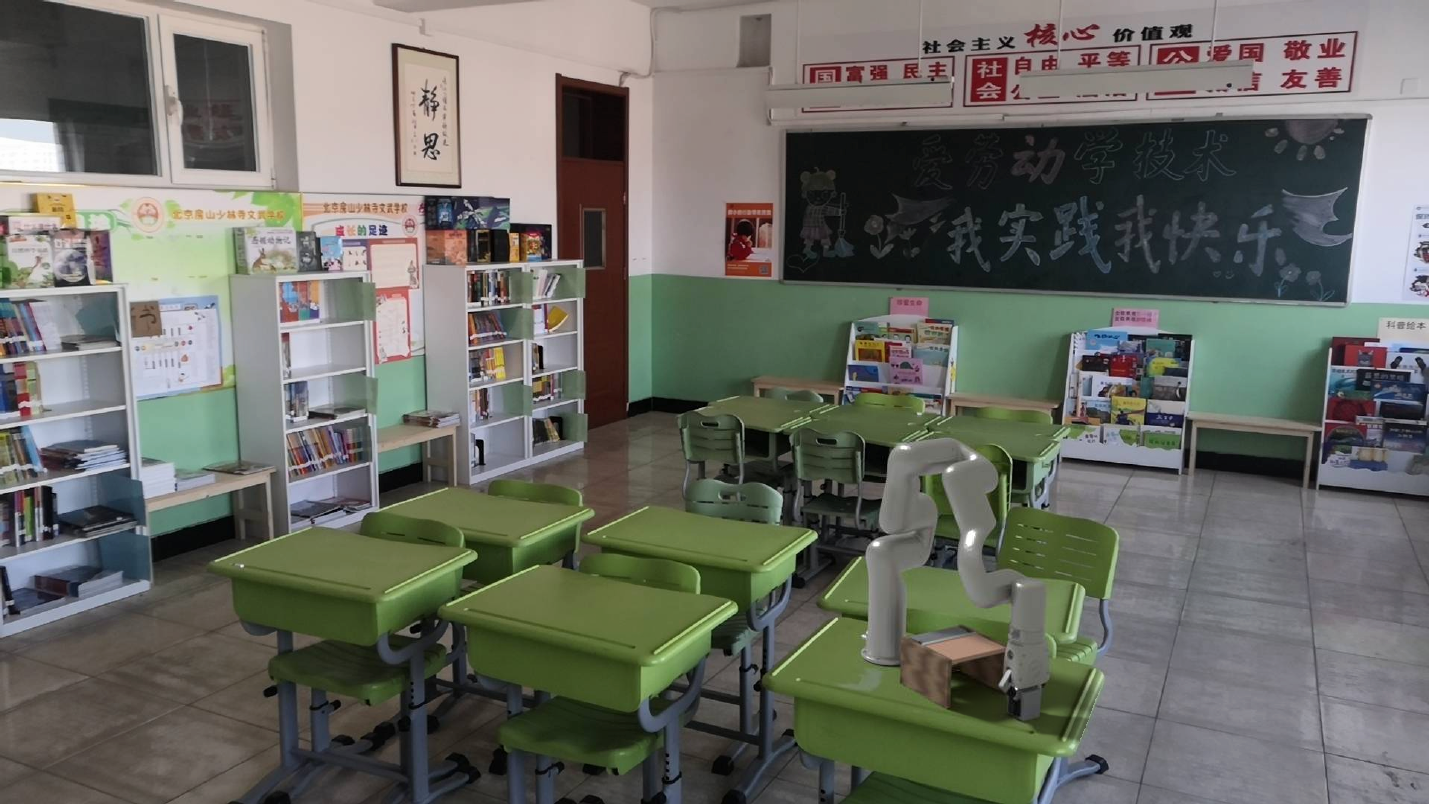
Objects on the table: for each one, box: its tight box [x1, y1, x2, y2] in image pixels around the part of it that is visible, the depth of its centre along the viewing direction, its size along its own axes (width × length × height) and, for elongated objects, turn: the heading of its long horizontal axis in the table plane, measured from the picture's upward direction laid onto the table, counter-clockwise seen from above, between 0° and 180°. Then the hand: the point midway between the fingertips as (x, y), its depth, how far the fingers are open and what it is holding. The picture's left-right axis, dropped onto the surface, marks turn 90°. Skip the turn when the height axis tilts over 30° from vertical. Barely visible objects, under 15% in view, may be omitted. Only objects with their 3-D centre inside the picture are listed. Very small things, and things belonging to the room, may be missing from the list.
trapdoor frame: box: [899, 624, 1009, 710], centre depth 250 cm, size 17×19×12 cm
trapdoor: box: [908, 625, 1006, 665], centre depth 249 cm, size 16×16×4 cm
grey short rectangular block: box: [1006, 686, 1042, 722], centre depth 236 cm, size 5×5×6 cm
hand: (1023, 711), depth 236 cm, fingers closed on grey short rectangular block, 5 cm apart
